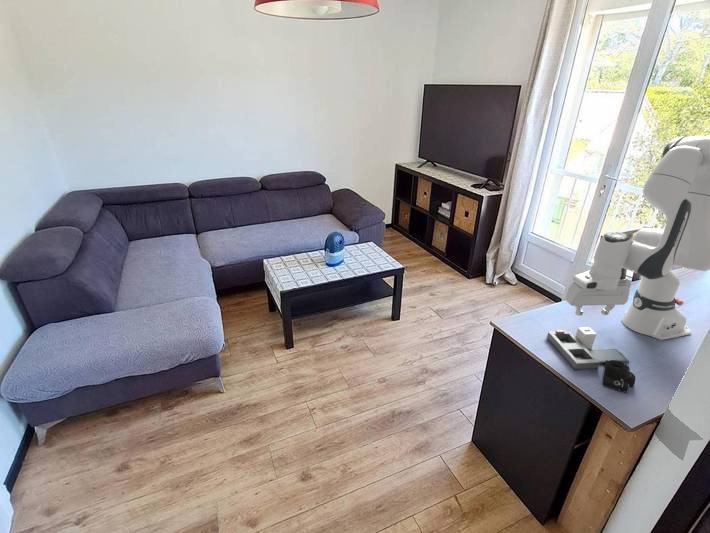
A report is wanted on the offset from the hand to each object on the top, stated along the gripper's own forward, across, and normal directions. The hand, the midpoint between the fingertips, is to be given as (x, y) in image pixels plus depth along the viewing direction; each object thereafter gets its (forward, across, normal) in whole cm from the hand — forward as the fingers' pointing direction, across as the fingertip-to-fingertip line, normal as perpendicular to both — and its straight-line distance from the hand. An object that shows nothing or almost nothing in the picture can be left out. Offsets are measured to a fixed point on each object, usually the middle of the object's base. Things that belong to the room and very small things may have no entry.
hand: (591, 314), depth 129 cm
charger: (+14, -1, 0) cm, 14 cm away
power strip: (+14, +6, +4) cm, 16 cm away
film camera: (+14, -1, +17) cm, 23 cm away
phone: (+14, -4, +7) cm, 16 cm away
